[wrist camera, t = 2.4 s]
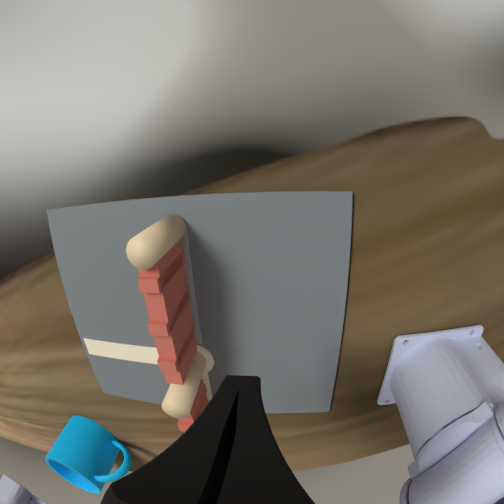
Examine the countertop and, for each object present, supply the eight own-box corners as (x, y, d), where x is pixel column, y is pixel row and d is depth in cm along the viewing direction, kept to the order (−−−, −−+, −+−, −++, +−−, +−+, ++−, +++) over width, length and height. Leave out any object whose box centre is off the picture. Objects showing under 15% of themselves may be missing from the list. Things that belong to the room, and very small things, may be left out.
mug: (90, 447, 33) (70, 484, 25) (60, 412, 30) (34, 451, 22) (154, 458, 31) (136, 505, 23) (124, 422, 28) (99, 473, 21)
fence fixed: (182, 346, 23) (158, 398, 17) (205, 348, 23) (186, 401, 17) (197, 412, 26) (183, 459, 20) (217, 414, 26) (206, 463, 20)
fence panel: (202, 345, 22) (185, 390, 17) (180, 344, 22) (160, 387, 18) (184, 213, 19) (154, 235, 14) (159, 214, 19) (123, 236, 14)
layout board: (351, 191, 18) (352, 192, 17) (328, 409, 24) (329, 412, 24) (48, 209, 20) (45, 210, 20) (104, 391, 26) (103, 393, 26)
